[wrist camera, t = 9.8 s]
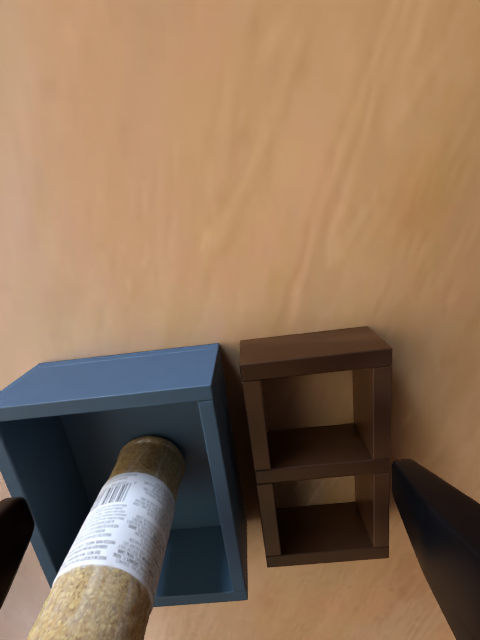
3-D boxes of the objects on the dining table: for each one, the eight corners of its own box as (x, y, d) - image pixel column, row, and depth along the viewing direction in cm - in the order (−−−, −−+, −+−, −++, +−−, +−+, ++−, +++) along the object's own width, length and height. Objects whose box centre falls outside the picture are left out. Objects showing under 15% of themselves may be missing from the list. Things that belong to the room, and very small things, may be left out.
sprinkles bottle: (131, 492, 23) (-10, 844, 10) (110, 438, 22) (-86, 765, 9) (195, 481, 23) (131, 831, 10) (176, 426, 21) (75, 748, 8)
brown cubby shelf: (369, 511, 24) (389, 558, 21) (264, 520, 25) (267, 568, 21) (367, 325, 20) (392, 348, 16) (240, 340, 20) (239, 365, 17)
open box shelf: (247, 521, 25) (248, 600, 20) (97, 534, 25) (61, 614, 20) (219, 342, 20) (211, 384, 15) (38, 363, 21) (-27, 410, 16)
